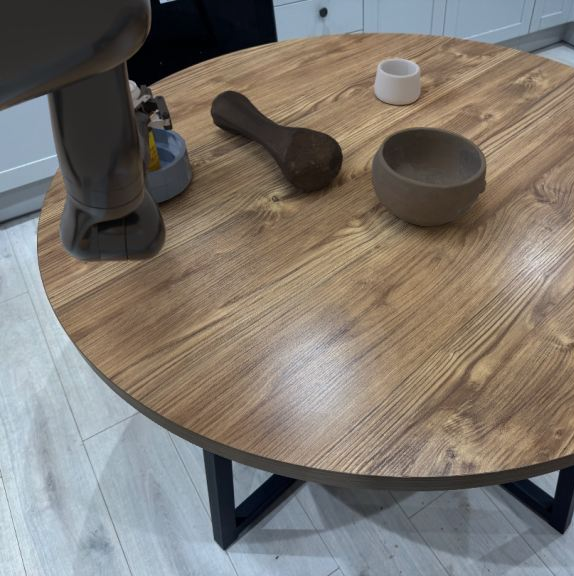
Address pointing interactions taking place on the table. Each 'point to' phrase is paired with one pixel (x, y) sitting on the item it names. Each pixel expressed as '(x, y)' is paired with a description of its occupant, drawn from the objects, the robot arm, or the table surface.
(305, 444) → the table surface
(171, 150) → the blue bowl
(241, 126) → the dark brown pestle
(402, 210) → the bowl
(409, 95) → the white tapered round piece
